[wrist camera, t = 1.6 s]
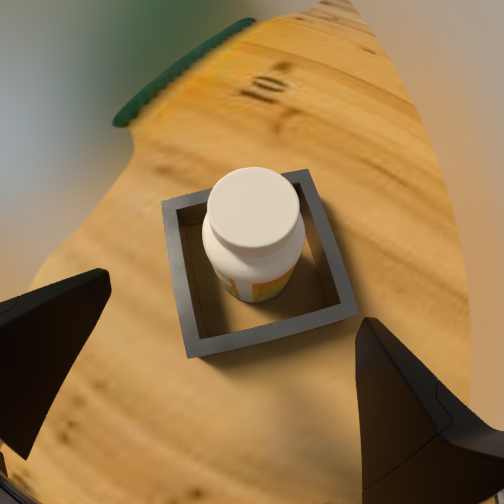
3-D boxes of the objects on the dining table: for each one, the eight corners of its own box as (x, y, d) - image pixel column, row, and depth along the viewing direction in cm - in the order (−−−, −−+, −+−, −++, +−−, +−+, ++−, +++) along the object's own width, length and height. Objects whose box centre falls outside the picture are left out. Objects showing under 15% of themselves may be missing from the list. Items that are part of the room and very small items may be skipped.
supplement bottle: (296, 241, 22) (322, 166, 13) (283, 310, 20) (307, 277, 11) (227, 227, 22) (210, 146, 13) (209, 294, 21) (174, 249, 11)
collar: (345, 318, 20) (359, 313, 17) (197, 357, 19) (187, 358, 16) (302, 189, 23) (307, 168, 20) (171, 218, 22) (161, 201, 20)
